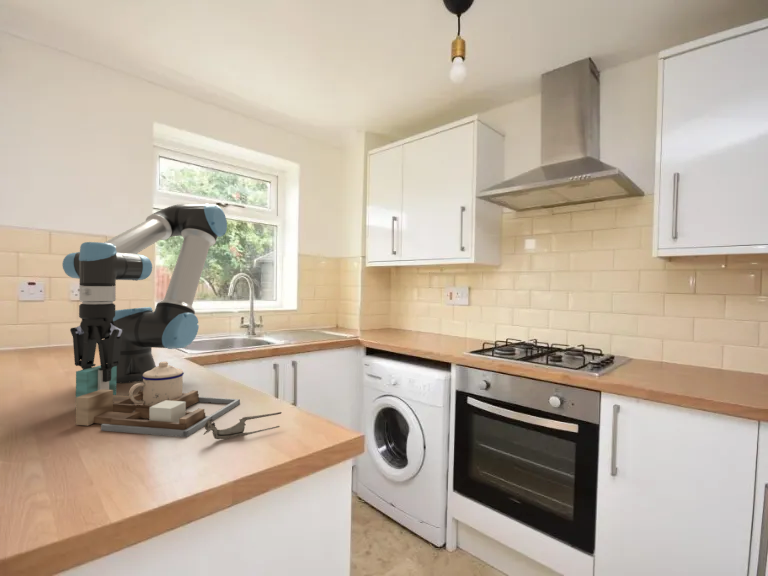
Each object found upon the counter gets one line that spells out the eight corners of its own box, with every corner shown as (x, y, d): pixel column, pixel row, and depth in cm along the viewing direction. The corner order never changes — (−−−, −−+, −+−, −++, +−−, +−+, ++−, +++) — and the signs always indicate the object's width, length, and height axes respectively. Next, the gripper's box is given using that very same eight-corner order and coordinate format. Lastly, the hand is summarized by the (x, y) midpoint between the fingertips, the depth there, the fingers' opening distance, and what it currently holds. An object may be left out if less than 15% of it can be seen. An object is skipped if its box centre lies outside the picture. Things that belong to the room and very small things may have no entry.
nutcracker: (280, 427, 87) (280, 405, 87) (281, 429, 86) (282, 406, 86) (202, 444, 77) (202, 419, 77) (203, 446, 77) (203, 420, 76)
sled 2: (103, 413, 92) (103, 388, 92) (205, 421, 89) (205, 395, 89) (73, 425, 84) (73, 398, 84) (184, 434, 81) (184, 405, 81)
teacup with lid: (174, 400, 104) (174, 357, 104) (189, 408, 98) (190, 362, 98) (122, 411, 94) (122, 363, 94) (135, 420, 89) (136, 369, 89)
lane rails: (170, 399, 105) (171, 394, 105) (239, 403, 102) (239, 399, 102) (100, 430, 83) (101, 424, 83) (186, 437, 80) (186, 431, 80)
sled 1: (110, 395, 106) (110, 362, 106) (198, 401, 103) (199, 367, 103) (70, 409, 94) (71, 372, 94) (169, 416, 91) (169, 378, 91)
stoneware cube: (165, 422, 89) (165, 400, 89) (185, 423, 88) (185, 401, 88) (149, 430, 84) (149, 407, 84) (170, 431, 83) (170, 408, 83)
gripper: (55, 302, 97) (55, 396, 97) (114, 304, 95) (113, 399, 95) (82, 301, 104) (81, 388, 105) (137, 302, 102) (136, 391, 103)
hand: (96, 393), depth 100 cm, fingers closed on sled 1, 3 cm apart
